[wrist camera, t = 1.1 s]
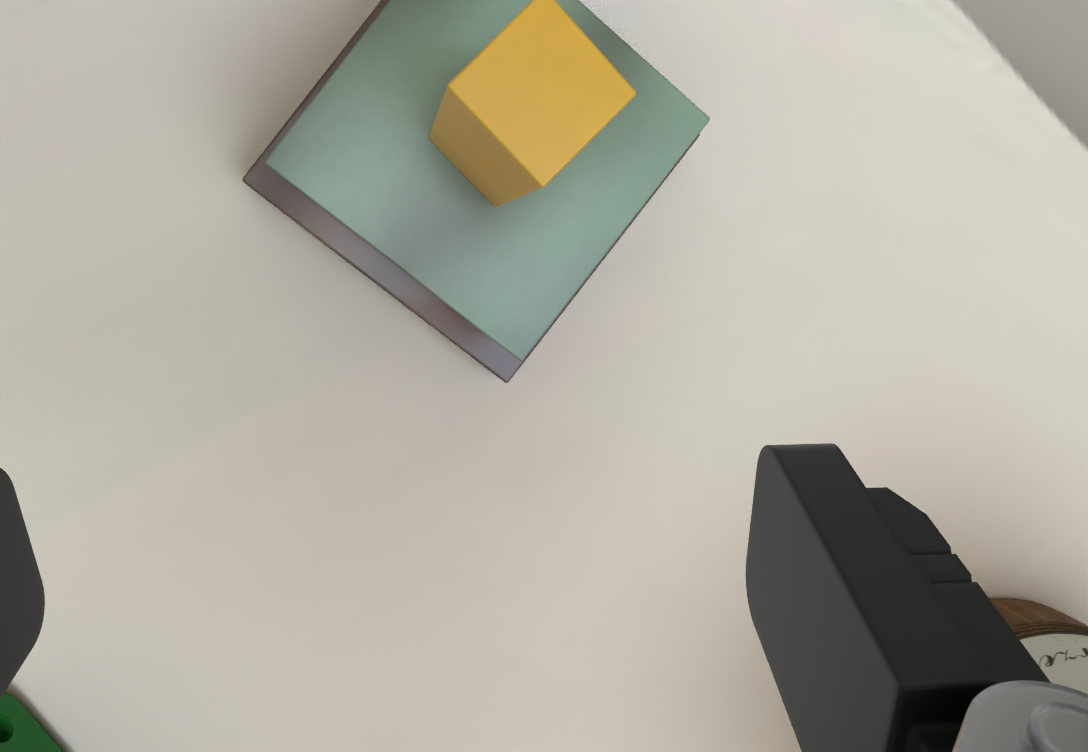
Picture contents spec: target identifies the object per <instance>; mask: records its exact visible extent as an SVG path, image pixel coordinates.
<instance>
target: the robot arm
mask: <svg viewBox="0 0 1088 752" xmlns="http://www.w3.org/2000/svg"><path fill="white" fill-rule="evenodd" d="M746 588H747V597H748V603H749V608H750V613H751V617H752V620H753V623H754V626H755V628H756V631H757V634H758V636H759V639H760V642H761V644H762V647H763V650H764V652H765V655H766V657H767V660H768V663H769V665H770V668H771V671H772V673H773V676H774V679H775V681H776V684H777V687H778V689H779V692H780V695H781V697H782V700H783V703H784V705H785V708H786V711H787V713H788V716H789V719H790V721H791V724H792V726H793V729H794V732H795V734H796V737H797V740H798V742H799V745H800V748H801V750H802V752H1088V694H1086V693H1084V692H1082V691H1079V690H1076V689H1073V688H1069V687H1066V686H1063V685H1058V684H1054V683H1051V682H1050V680H1049V679H1048V678H1047V676H1046V675H1045V674H1044V672H1043V671H1042V670H1041V668H1040V667H1039V666H1038V664H1037V663H1036V661H1035V660H1034V659H1033V657H1032V656H1031V655H1030V653H1029V652H1028V651H1027V649H1026V648H1025V647H1024V645H1023V644H1022V643H1021V641H1020V640H1019V639H1018V637H1017V636H1016V634H1015V633H1014V632H1013V630H1012V629H1011V628H1010V626H1009V625H1008V624H1007V622H1006V621H1005V620H1004V618H1003V617H1002V616H1001V614H1000V613H999V612H998V610H997V609H996V608H995V606H994V605H993V603H992V602H991V601H990V599H989V598H988V597H987V595H986V594H985V593H984V591H983V590H982V589H981V587H980V586H979V585H978V583H977V582H972V580H971V574H970V572H969V571H968V570H967V568H966V567H965V566H964V564H963V563H962V562H961V560H960V559H959V558H958V556H957V555H956V554H951V547H950V546H949V544H948V543H947V541H946V540H945V539H944V537H943V536H942V535H941V533H940V532H939V531H938V529H937V528H936V527H935V525H934V524H933V523H932V521H931V520H930V519H929V517H928V516H927V515H926V514H925V513H923V512H922V511H921V510H919V509H918V508H916V507H915V506H913V505H912V504H910V503H909V502H907V501H906V500H904V499H903V498H901V497H900V496H899V495H897V494H896V493H894V492H893V491H891V490H890V489H888V488H887V487H886V488H866V487H865V486H864V484H863V483H862V481H861V480H860V478H859V477H858V475H857V474H856V472H855V471H854V469H853V468H852V466H851V465H850V463H849V462H848V460H847V459H846V457H845V456H844V454H843V453H842V451H841V450H840V449H839V447H838V446H836V445H835V444H832V443H831V444H796V445H767V446H764V447H763V448H762V450H761V452H760V455H759V459H758V463H757V471H756V480H755V489H754V497H753V506H752V515H751V524H750V533H749V542H748V551H747V560H746ZM44 606H45V597H44V588H43V584H42V580H41V576H40V573H39V570H38V566H37V563H36V559H35V556H34V553H33V549H32V546H31V543H30V539H29V536H28V533H27V529H26V526H25V523H24V519H23V516H22V512H21V509H20V506H19V502H18V499H17V496H16V492H15V489H14V486H13V483H12V481H11V479H10V477H9V476H8V475H7V473H6V472H5V471H4V470H3V469H1V468H0V698H1V697H2V695H3V694H4V692H5V690H6V689H7V687H8V686H9V684H10V683H11V681H12V679H13V678H14V676H15V675H16V673H17V672H18V670H19V668H20V667H21V665H22V664H23V662H24V661H25V659H26V658H27V656H28V654H29V653H30V651H31V650H32V648H33V646H34V645H35V643H36V641H37V638H38V636H39V633H40V630H41V627H42V622H43V617H44Z"/></svg>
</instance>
